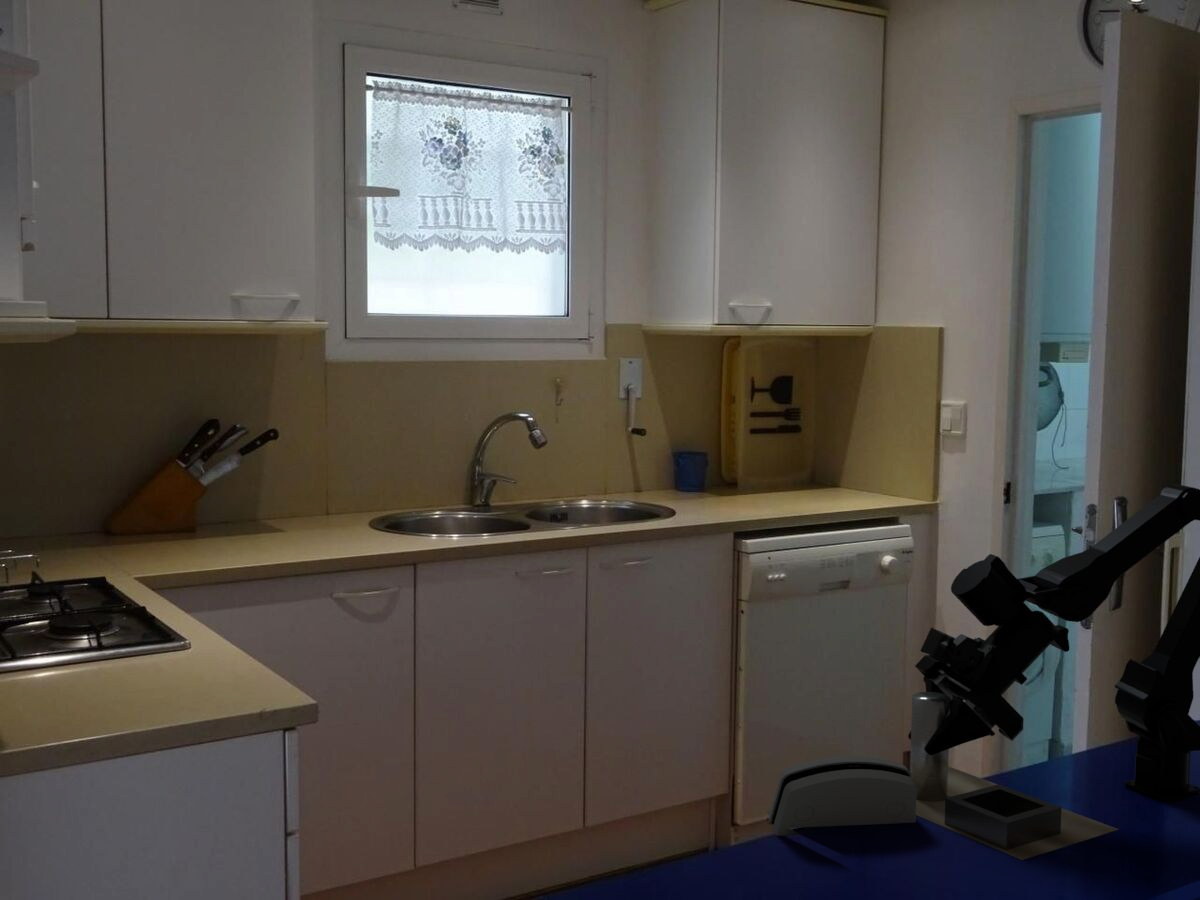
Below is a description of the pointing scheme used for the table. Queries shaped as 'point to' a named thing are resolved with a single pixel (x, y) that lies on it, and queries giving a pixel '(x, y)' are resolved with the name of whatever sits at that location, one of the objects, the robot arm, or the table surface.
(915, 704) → the pin
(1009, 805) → the knuckle socket
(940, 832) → the table surface
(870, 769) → the grey arched block
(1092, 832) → the board
